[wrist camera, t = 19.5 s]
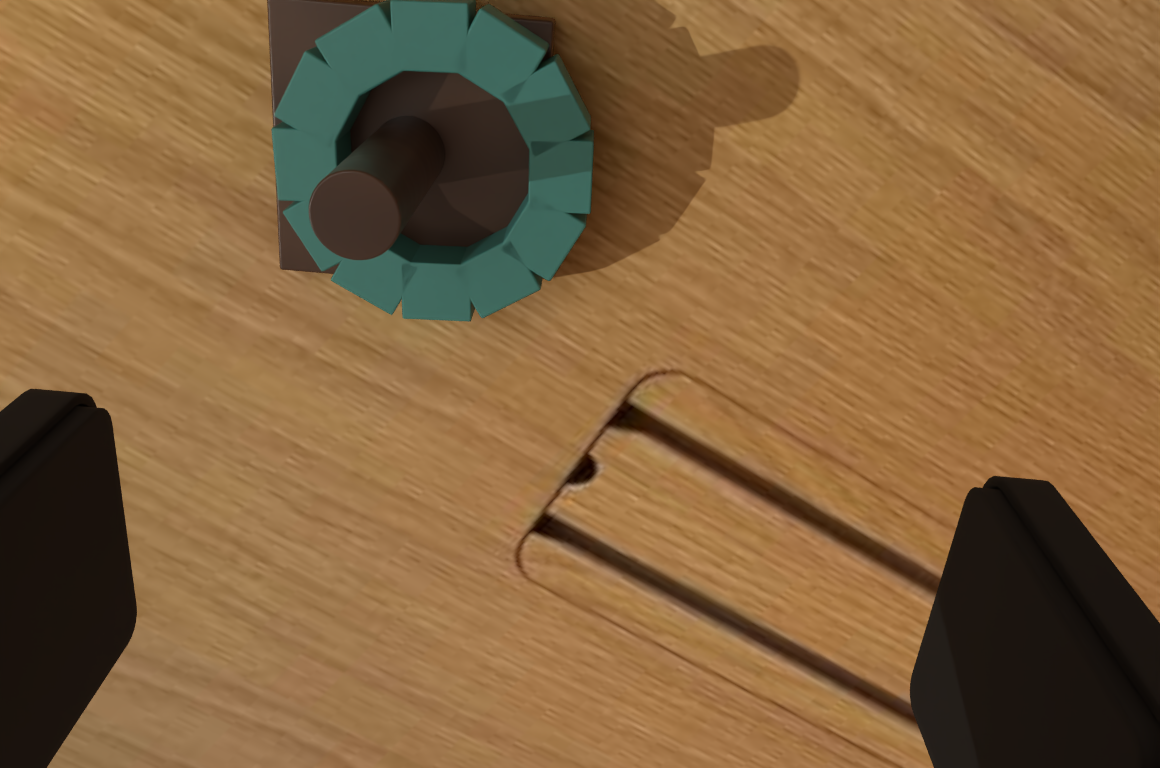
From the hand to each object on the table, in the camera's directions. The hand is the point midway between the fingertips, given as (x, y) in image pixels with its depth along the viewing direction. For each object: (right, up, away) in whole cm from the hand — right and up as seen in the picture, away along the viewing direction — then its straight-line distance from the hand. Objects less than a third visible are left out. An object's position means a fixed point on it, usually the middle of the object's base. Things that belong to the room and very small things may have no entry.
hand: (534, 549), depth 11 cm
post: (-5, +10, +23) cm, 26 cm away
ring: (-4, +9, +22) cm, 24 cm away
